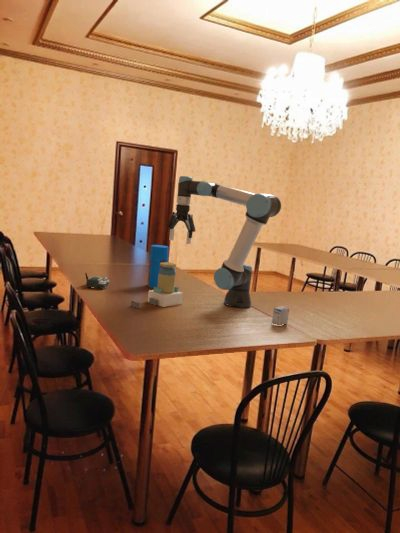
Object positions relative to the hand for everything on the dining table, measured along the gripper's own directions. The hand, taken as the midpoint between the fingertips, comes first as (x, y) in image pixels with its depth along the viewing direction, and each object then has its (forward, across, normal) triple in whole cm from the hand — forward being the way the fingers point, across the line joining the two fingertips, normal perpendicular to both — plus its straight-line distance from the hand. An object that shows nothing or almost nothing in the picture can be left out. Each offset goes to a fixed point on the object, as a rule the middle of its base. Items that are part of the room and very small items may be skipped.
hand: (179, 242), depth 260 cm
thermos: (+31, -21, +5) cm, 38 cm away
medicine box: (+31, +68, +5) cm, 75 cm away
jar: (+25, +11, -18) cm, 33 cm away
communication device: (+31, -38, -25) cm, 55 cm away
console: (+31, +11, -25) cm, 41 cm away
